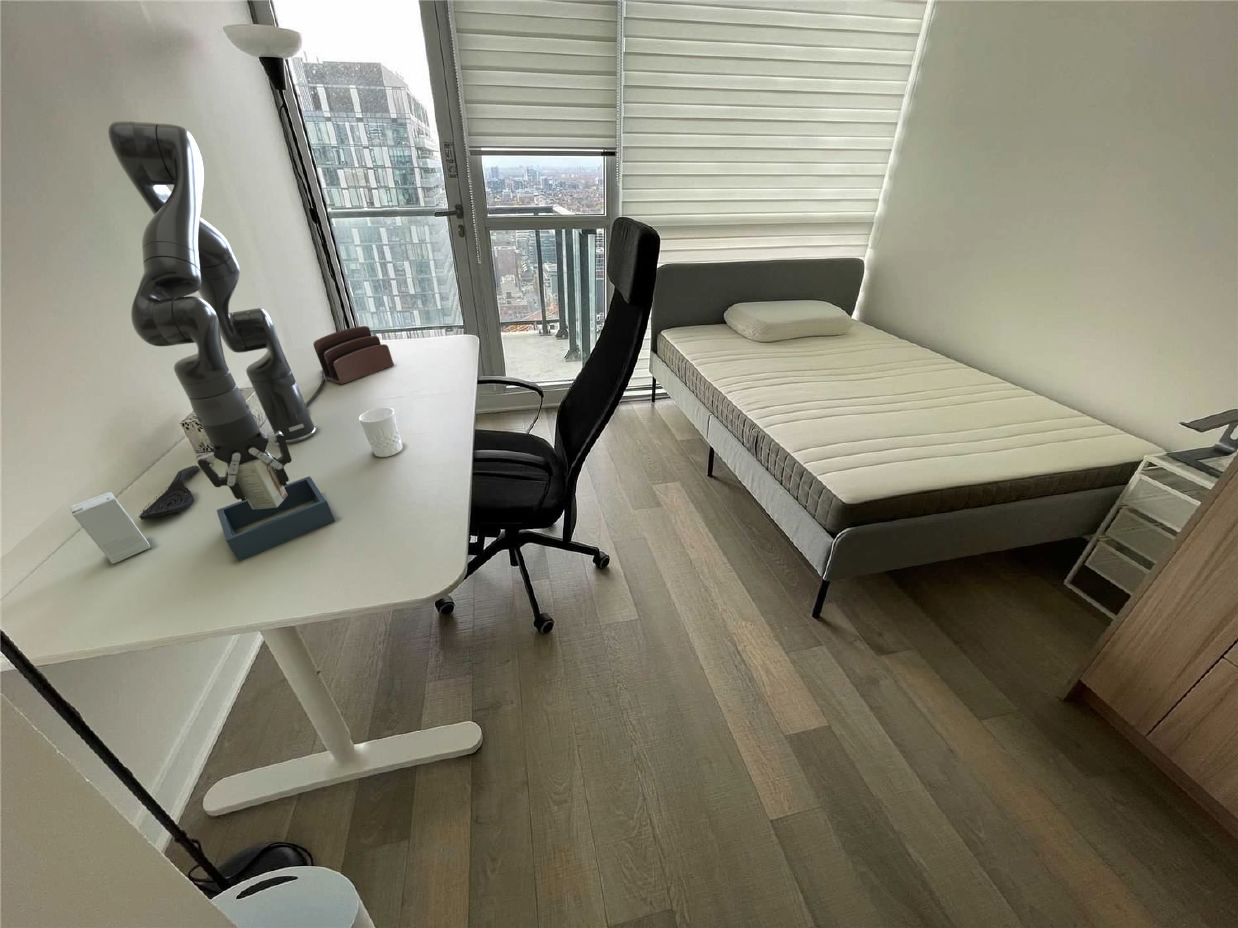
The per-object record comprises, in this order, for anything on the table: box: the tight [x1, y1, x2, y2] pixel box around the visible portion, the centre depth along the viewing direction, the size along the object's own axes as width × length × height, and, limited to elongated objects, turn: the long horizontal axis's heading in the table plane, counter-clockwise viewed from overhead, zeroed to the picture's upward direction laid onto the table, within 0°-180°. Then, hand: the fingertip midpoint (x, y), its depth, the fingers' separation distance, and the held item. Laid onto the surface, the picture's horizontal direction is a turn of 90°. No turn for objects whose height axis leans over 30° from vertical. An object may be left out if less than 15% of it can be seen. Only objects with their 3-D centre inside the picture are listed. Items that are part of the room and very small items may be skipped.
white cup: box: [358, 406, 403, 458], centre depth 125 cm, size 8×8×10 cm
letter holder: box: [313, 325, 395, 386], centre depth 172 cm, size 10×20×14 cm, turn 144°
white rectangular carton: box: [228, 453, 288, 509], centre depth 98 cm, size 5×4×10 cm
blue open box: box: [216, 475, 336, 562], centre depth 102 cm, size 13×17×5 cm
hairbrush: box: [138, 465, 200, 521], centre depth 114 cm, size 8×4×25 cm
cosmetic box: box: [69, 491, 151, 565], centre depth 95 cm, size 6×4×12 cm
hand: (264, 491), depth 99 cm, fingers closed on white rectangular carton, 6 cm apart
